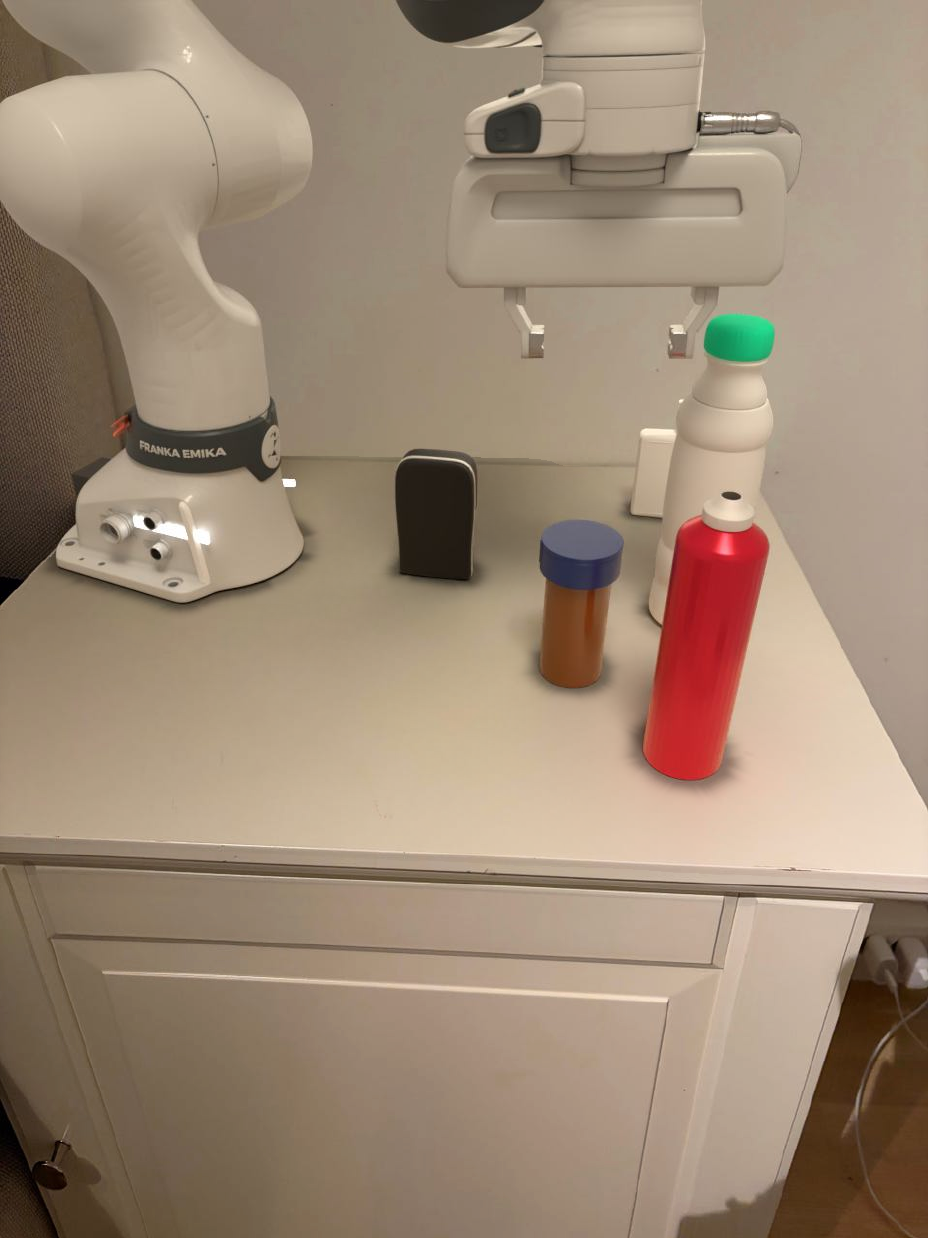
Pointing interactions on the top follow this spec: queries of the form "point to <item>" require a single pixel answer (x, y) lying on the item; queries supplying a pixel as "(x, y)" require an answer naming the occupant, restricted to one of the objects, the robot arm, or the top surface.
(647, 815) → the top surface
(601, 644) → the jar
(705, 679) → the bottle
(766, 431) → the water bottle
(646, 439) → the white upright flat block
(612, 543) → the lid
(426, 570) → the battery charger
